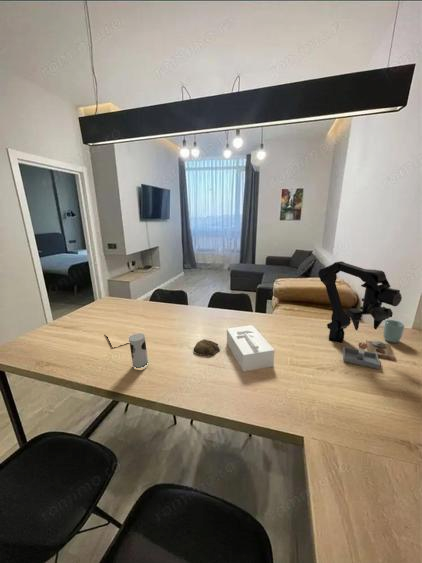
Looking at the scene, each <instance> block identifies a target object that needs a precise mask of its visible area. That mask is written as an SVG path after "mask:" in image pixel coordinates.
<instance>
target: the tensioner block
mask: <svg viewBox="0 0 422 563" xmlns="http://www.w3.org/2000/svg"><path fill="white" fill-rule="evenodd" d="M365 344H366V345H367V348H366V351H368V352H373V353H377V355H378V358H381V359H387V360H392V361H395V357H396V356H395V354H394V352H393V349H392V347H391V344H389V343H384V342H381V341H376V340H374V341H372V340H365Z"/></svg>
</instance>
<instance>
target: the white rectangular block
mask: <svg viewBox="0 0 422 563" xmlns="http://www.w3.org/2000/svg"><path fill="white" fill-rule="evenodd" d="M226 343H227V346H228V347H229V349H230V351H231V353H232V352H233V353H232V354H233V356H234V358H235V359H237V360H236V361H237V363H238V365H239V364H240V365H239V366H241V367H240V368H241V370H242V372H243V371H244V372H248V371H247V370H250V371H254V370H253V369H255V370H259V368H261V369H265V367H266V368H271V366H272V367H275V349H274V348H273V346H272V345H271V344H270V343H269V342H268V341H267V340H266V338H264V336H263V335H262V334H261V333H260V332H259V331H258V330H257V328H256V327H255V326H254V325H253V324H249V325H243V326H236V327H230V328H226Z"/></svg>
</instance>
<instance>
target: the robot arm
mask: <svg viewBox="0 0 422 563" xmlns="http://www.w3.org/2000/svg"><path fill="white" fill-rule="evenodd" d="M340 272H342V273H344V274H348V275H350V276H354V277H357V278H359V279H360V280H361V281H362V282H364V283H362V284H361V285H360V286H361V287H363V288H365V291H364V296H363V298H362V297H361V301H362V306H360V307H359V309H357V308H355V307H354V308H347V309H346V310H344V308H343V304H342V301H341V298H340V295H339V291H338V289H337V288H338V287H337V285H336V281H337V276H338V275H337V274H338V273H340ZM317 274H318V278H319V280H320V282H321V283H323V286H324V287H325V289H326V292H327V296H328V300H329V303H330V307H331V310H332V314H331V321H330V322H329V323H327V324H326V327H327V329H329V334H328V340H329V341H332V342H338V343H343V341H344V340H345V329H347V328H348V327H349V326H350V325H351V321H352V325H353V327H354V329H355V331H358V330H359V326H360V322H361V321H362V320H363V319H362V317H363V316H367V315H369V316H371V317H372V318H373V329H374V330H377V329H378V328H379V327H380V325H381V324H382V322H384V321H386V320H389V319H390V318H392V317H393V314H394V313H393V310H392V309H391V308H387V307H385V306H382V303H383V304H386V305H389V306H393V307H397V306H399V305H400V303H401V302H402V294H401V290H400V289H397V288H396V289H395V288H391V285H390V282H389V281H388V279H387V276H386V272H385V271H383V270H379V269H370V268H369V269H367V268H363V267H359V266H356V265H354V264H350V263H347V262H345V261H335V262H333V263H332V264H330V265H328V266H326V267H323V268H321V269H319V270H318V273H317Z"/></svg>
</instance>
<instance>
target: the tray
mask: <svg viewBox="0 0 422 563" xmlns="http://www.w3.org/2000/svg"><path fill="white" fill-rule="evenodd" d="M342 348H343V349H342V359H343V360H342V361H343V363H346V364H348V365H349V364H350V365H355V366H358V367H364V368H370V369H373V370H378V371H380V369H381V368H380V367H381V363H380V360H379V357H378V355H377V353H373V352H368V350H365V353H364V359H363V360H358V359H357V356H358V351H359V349H357V348H351V347H347V346H343V347H342Z"/></svg>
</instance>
